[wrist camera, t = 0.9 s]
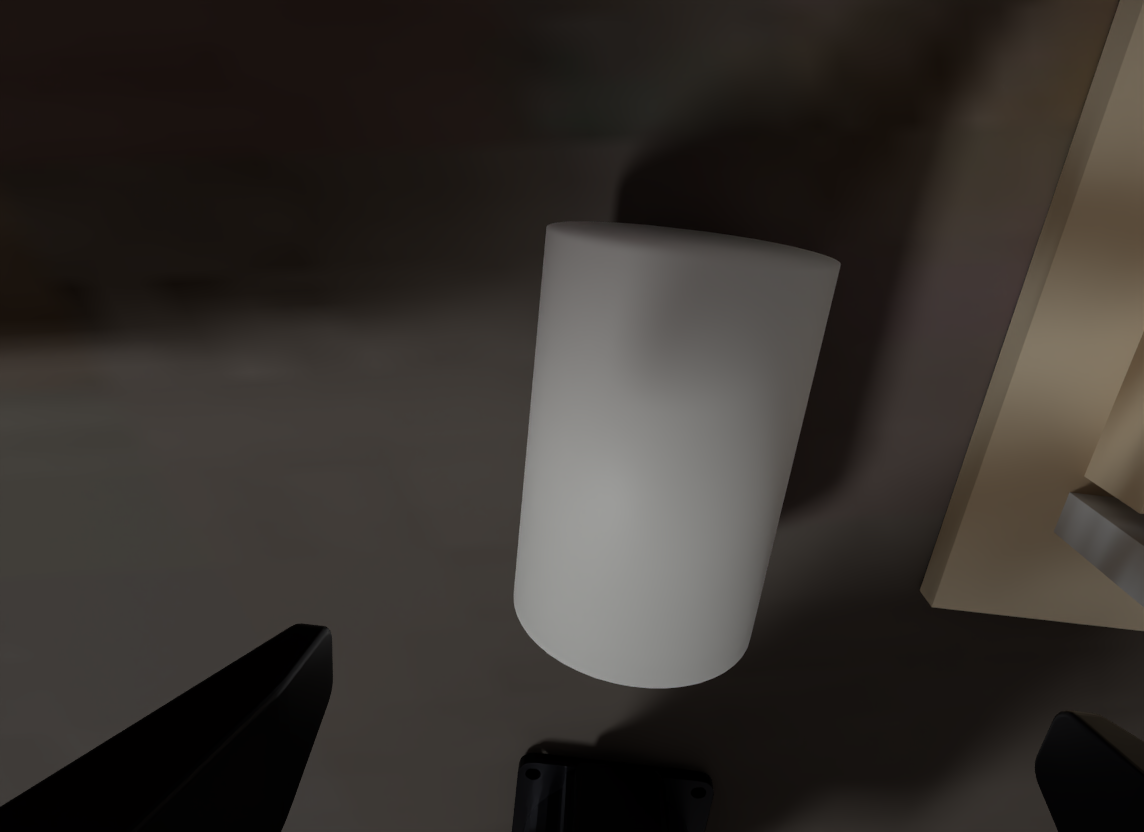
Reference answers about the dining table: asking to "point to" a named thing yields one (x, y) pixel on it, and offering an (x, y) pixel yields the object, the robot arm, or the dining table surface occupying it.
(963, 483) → the roll holder
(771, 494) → the roll
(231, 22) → the dining table surface
